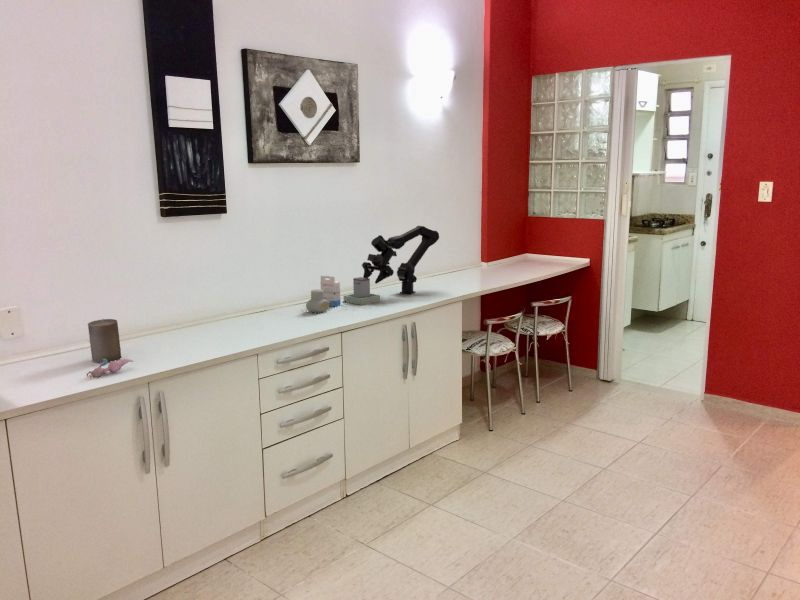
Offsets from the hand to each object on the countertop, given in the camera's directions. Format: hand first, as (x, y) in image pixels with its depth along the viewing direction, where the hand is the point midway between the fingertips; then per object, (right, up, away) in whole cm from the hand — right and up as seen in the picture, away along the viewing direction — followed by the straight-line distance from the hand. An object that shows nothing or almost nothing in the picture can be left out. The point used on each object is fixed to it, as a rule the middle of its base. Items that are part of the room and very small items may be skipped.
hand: (369, 282), depth 335 cm
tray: (-4, -10, -2) cm, 10 cm away
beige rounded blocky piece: (-23, -15, -24) cm, 36 cm away
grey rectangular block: (-4, -9, -2) cm, 10 cm away
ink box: (-18, -12, -10) cm, 24 cm away
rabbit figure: (-81, -34, -114) cm, 143 cm away
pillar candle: (-89, -30, -98) cm, 136 cm away
